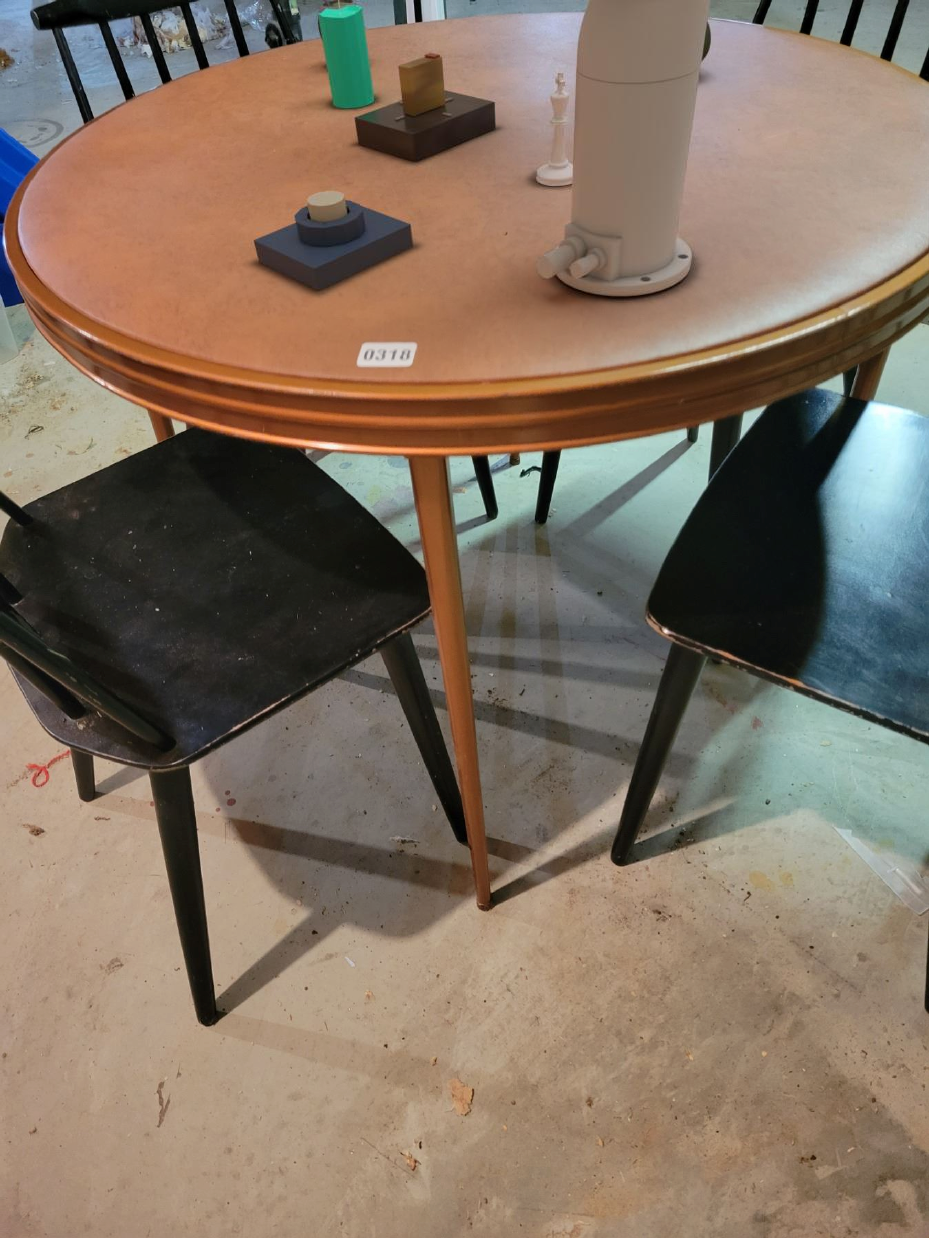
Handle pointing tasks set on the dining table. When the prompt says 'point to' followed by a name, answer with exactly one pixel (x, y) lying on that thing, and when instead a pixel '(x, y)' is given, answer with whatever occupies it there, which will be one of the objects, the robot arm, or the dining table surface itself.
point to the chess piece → (557, 142)
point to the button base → (333, 245)
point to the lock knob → (422, 84)
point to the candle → (347, 56)
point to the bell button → (327, 206)
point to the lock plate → (425, 126)
